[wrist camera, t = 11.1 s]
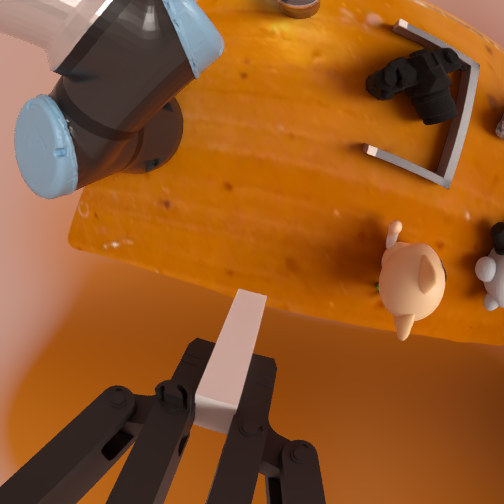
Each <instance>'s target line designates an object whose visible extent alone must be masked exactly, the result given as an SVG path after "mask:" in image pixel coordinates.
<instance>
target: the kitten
mask: <svg viewBox="0 0 504 504" xmlns="http://www.w3.org/2000/svg"><path fill="white" fill-rule="evenodd" d="M401 230H402V224H401V222H400V221H398V220H394V221H392V222H391V223H390V224H389V226H388V235H387V239H386V248H387V249H386V251H385V252H384V254H383V257H382V262H381V264H382V270H381V273H380V277H379V284H376V288H377V290H379V293H380V297H381V300H382V302H383V304H384V306H385V307H386V308H387V310H388V311H389V312H390V313H391V314H392V315H394V324H395V326H396V329H397V335H398V338H399V339H400V340H402V341H403V340H405V339H406V338H407V337H408V335H409V333H410V330H411V327H412V325H413V322H414V321H417V320H420V319H423V318H425V317H426V316H428V315H429V314H431V313H432V312H433V311H434V310H435V309H436V307H437V306H438V305H439V303H440V301H441V299H442V296H443V293H444V289H445V282H446V272H445V269H444V267H443V264H442V261H441V260H440V259H439V257H438V256H437V254H436V253H435V251H434V250H433V249H432V248H431V247H429V246H428V245H426V244H423V243H413V244H409V243H405V242H396V241H397V237H398V233H400V232H401Z"/></svg>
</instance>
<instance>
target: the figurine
mask: <svg viewBox="0 0 504 504" xmlns="http://www.w3.org/2000/svg"><path fill="white" fill-rule="evenodd" d="M491 234H492V237H493V239H494V242H495V243H494V248H493V249H492V250H491V252H490V253H489V255H488V257H486V256H485V257H481V258H480V259H479V260H478V261H477V263H476V266H475V273H476V275H477V277H478V278H479V279H480V280H481V281H483V282H484V286H485V289H486V290H487V292H488V293H487V294H486V295H485V297H484V300H483V302H484V306H485V308H486V309H487V310H489V311H492V310H494V309H495V308H497V307H498V306H500V307H502V308H504V223H502V222H498V223H496V224H495V225H494V226H493V227H492V228H491Z"/></svg>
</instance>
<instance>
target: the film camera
mask: <svg viewBox="0 0 504 504" xmlns="http://www.w3.org/2000/svg"><path fill="white" fill-rule="evenodd" d="M462 67H463V68H464V69H465V70H464V71H463V72H465V71H466V66H465V65H463V64H461V61H460V58H459V57H458V55H457V53H456V52H455V51H454V50H453V49H452V48H440V49H436V50H432V51H428V50H427V49H422V50H419V51H416V52H413V53H412V54H410V58H408V59H405V58H404V57H400V58H397V59H395V60H393V61H391V62H389V63H388V65H387V67H384V68H382V69H381V70H378V71H376V72H375V73H374V74H372V75H370V76H368V78H367V79H366V91H368V92H369V93H370V94H371V95H372V96H374V97H375V98H377V99H378V100H382V101H383V100H389V99H393V94H394V93H396V94H398V93H402V92H403V89H405V91H406V93H407V95H408V96H409V97H410V98H411V102H412V104H413V105H414V106H415V109H416V111H417V113H418V116H419V117H420V118H421V119H422V120H423V122H424V124H425V125H431V124H437V123H440V122H444V121H447V120H449V119H451V118H453V117H455V116H457V114H458V113H457V111H456V109H455V107H456V105H455V102H454V100H453V98H452V96H451V94H450V90H449V88H448V87H449V86H452V85H451V80H450V78H449V76H448V74H447V73H449V72H452V71H455V70H458V69H459V70H461V71H462V70H463V68H462Z"/></svg>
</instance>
